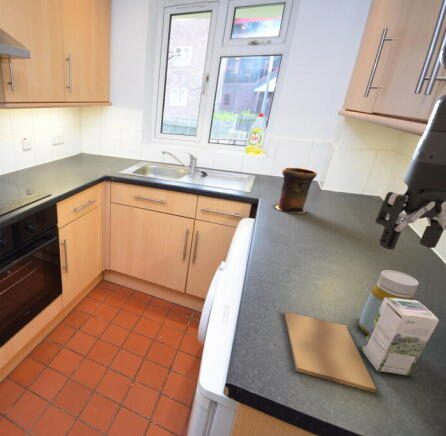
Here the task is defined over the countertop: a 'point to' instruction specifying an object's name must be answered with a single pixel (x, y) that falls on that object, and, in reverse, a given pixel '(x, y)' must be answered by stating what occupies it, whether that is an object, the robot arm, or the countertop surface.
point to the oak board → (326, 351)
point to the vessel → (295, 189)
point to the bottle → (387, 294)
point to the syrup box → (398, 335)
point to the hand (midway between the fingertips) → (406, 246)
